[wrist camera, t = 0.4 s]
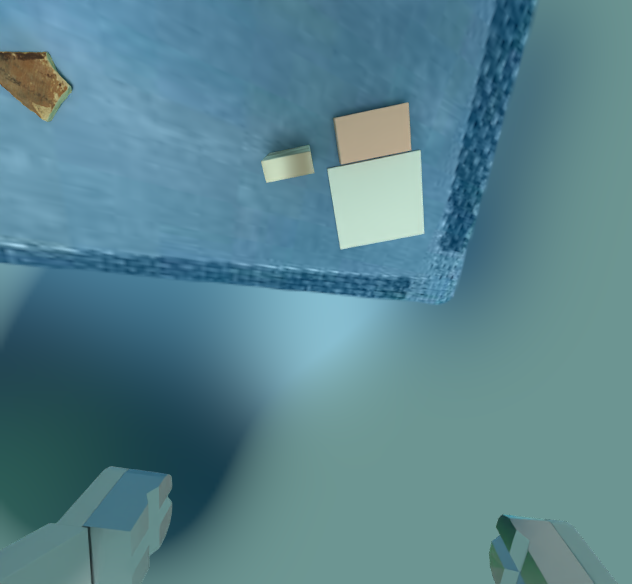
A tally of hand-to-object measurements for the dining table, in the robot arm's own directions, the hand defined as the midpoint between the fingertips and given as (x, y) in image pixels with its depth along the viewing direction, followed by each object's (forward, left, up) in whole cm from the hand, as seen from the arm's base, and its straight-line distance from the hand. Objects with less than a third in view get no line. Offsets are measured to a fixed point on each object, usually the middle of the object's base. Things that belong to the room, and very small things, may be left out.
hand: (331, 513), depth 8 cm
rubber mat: (-4, +10, -49) cm, 51 cm away
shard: (+14, -37, -50) cm, 64 cm away
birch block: (-1, -4, -49) cm, 50 cm away
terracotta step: (-11, +3, -49) cm, 51 cm away
